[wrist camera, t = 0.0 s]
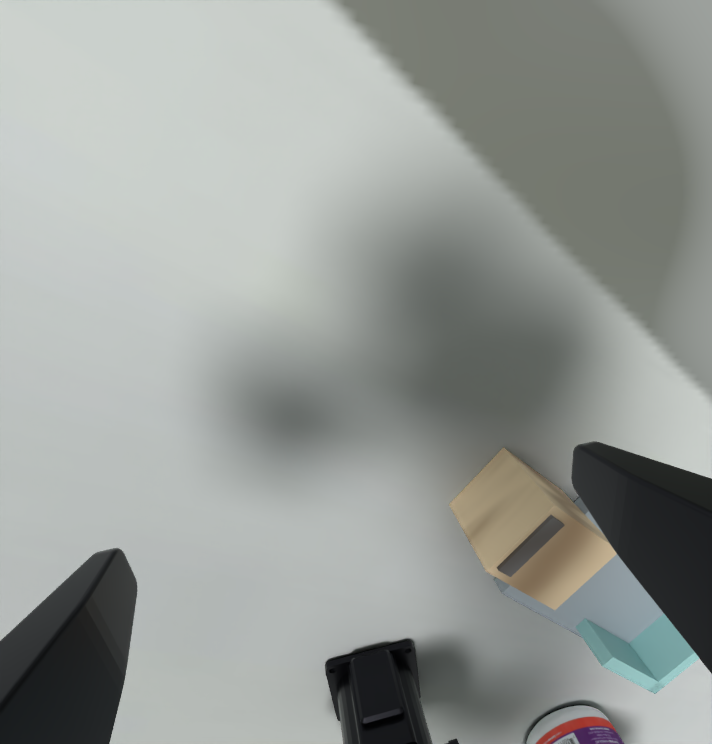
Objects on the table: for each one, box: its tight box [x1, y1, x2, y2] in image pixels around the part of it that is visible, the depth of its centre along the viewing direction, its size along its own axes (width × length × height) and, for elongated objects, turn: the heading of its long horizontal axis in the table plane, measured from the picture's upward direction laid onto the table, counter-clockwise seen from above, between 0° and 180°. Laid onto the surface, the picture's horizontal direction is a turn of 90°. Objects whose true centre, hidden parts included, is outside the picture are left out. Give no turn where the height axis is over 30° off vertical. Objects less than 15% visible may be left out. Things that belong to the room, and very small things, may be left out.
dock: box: [494, 497, 699, 694], centre depth 32 cm, size 15×11×4 cm
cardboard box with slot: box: [449, 447, 617, 610], centre depth 27 cm, size 6×5×6 cm
